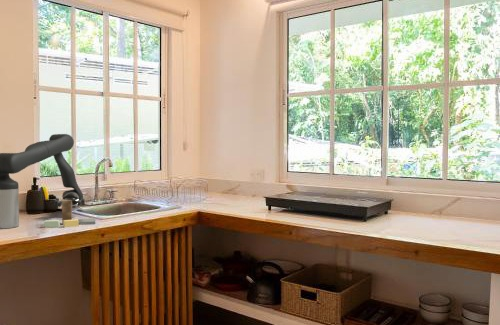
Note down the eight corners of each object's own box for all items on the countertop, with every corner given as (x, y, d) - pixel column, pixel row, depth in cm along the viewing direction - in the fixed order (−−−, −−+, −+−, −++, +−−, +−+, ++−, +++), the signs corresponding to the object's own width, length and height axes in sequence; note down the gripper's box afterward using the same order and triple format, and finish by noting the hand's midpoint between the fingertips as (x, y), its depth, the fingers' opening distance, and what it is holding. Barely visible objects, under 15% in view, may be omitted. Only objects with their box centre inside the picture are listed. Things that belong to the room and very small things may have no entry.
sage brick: (44, 228, 199) (44, 221, 199) (45, 226, 202) (45, 220, 202) (58, 227, 200) (58, 221, 200) (59, 226, 203) (59, 219, 203)
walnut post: (62, 224, 206) (62, 201, 206) (63, 223, 210) (62, 200, 209) (71, 224, 207) (71, 200, 207) (72, 222, 211) (71, 199, 211)
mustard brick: (64, 227, 200) (64, 221, 200) (63, 226, 202) (63, 220, 202) (78, 226, 203) (78, 220, 203) (77, 225, 206) (77, 219, 205)
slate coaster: (77, 224, 206) (77, 222, 206) (77, 221, 214) (77, 219, 214) (95, 223, 209) (95, 221, 209) (95, 221, 216) (95, 218, 216)
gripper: (56, 193, 232) (53, 197, 216) (85, 192, 236) (84, 196, 221) (56, 207, 232) (53, 212, 217) (85, 206, 237) (84, 211, 222)
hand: (69, 204), depth 219 cm, fingers open, 8 cm apart
